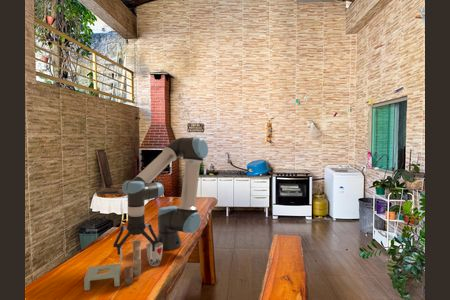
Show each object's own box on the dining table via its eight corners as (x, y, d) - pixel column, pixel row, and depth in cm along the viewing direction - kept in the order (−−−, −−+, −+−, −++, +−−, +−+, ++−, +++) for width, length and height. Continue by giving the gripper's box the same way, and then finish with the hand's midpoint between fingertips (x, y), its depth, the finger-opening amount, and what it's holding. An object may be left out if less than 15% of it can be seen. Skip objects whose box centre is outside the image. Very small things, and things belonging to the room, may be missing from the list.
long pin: (141, 272, 147) (140, 239, 146) (141, 275, 143) (140, 242, 143) (133, 273, 146) (132, 240, 145) (133, 276, 142) (132, 242, 142)
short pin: (133, 281, 138) (132, 266, 138) (132, 285, 135) (132, 269, 134) (125, 282, 137) (124, 267, 137) (124, 286, 134) (124, 270, 134)
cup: (148, 268, 151) (147, 248, 151) (145, 262, 159) (145, 243, 158) (164, 265, 154) (164, 246, 154) (161, 259, 162) (160, 241, 161)
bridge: (120, 273, 145) (120, 263, 145) (119, 285, 134) (119, 274, 134) (89, 277, 142) (88, 267, 141) (84, 290, 130) (84, 278, 130)
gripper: (162, 211, 150) (163, 254, 151) (108, 214, 143) (108, 259, 144) (163, 214, 143) (164, 259, 144) (106, 218, 136) (107, 265, 137)
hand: (136, 259), depth 144 cm, fingers open, 13 cm apart
